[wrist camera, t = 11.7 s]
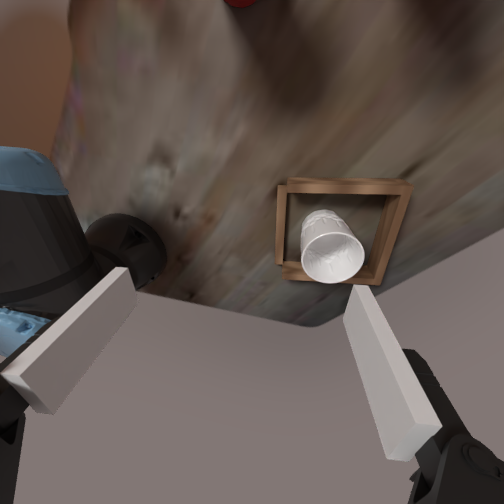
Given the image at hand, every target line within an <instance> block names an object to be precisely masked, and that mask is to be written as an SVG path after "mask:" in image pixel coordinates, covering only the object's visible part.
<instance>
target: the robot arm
mask: <svg viewBox="0 0 504 504" xmlns="http://www.w3.org/2000/svg"><path fill="white" fill-rule="evenodd" d="M68 194H69V191H68V190H67V189H66V188H65V187H64V185H63V183H62V181H61V179H60V177H59V175H58V173H57V171H56V169H55V167H54V165H53V163H52V162H51V161H50V160H49V159H48V158H47V157H46V156H44V155H43V154H41V153H39V152H37V151H34V150H30V149H25V148H14V147H2V146H0V355H2V356H5V357H7V358H6V359H5V360H4V361H3V362H2V363H0V504H13V500H14V494H15V487H16V481H17V474H18V467H19V460H20V454H21V447H22V440H23V433H24V427H25V419H26V417H25V413H24V411H25V409H26V408H27V407H28V406H29V405H30V406H31V407H32V408H33V409H34V410H35V411H36V412H37V413H44V414H52V415H53V414H55V412H56V411H57V410H58V408H59V407H60V405H61V404H62V403H63V402H64V400H65V399H66V398H67V396H68V395H69V394H70V392H71V391H72V390H73V388H74V387H75V386H76V385H77V383H78V382H79V381H80V379H81V378H82V377H83V375H84V374H85V373H86V371H87V370H88V369H89V367H90V366H91V365H92V363H93V362H94V361H95V360H96V358H97V357H98V356H99V354H100V353H101V352H102V350H103V349H104V348H105V346H106V345H107V344H108V342H109V341H110V340H111V338H112V337H113V336H114V334H115V333H116V332H117V330H118V329H119V328H120V327H121V325H122V324H123V323H124V321H125V320H126V319H127V317H128V316H129V315H130V313H131V312H132V311H133V309H134V308H135V307H136V305H137V304H138V303H139V301H138V297H137V294H136V290H138V289H140V288H142V287H144V286H145V285H147V284H149V283H151V282H153V281H154V280H155V279H156V278H157V277H158V276H159V275H160V274H161V272H162V271H163V270H164V268H165V265H166V261H167V255H166V250H165V247H164V245H163V243H162V241H161V239H160V238H159V236H158V235H157V234H156V232H155V231H154V230H153V229H152V228H151V227H149V226H148V225H147V224H146V223H144V222H143V221H141V220H139V219H137V218H135V217H132V216H130V215H126V214H118V213H117V214H109V215H106V216H104V217H102V218H100V219H98V220H96V221H95V222H93V223H92V224H91V225H90V226H89V227H88V229H87V231H86V232H85V234H84V232H83V230H82V227H81V225H80V223H79V220H78V218H77V215H76V213H75V211H74V208H73V206H72V204H71V201H70V199H69V196H68ZM343 322H344V326H345V329H346V332H347V335H348V338H349V341H350V345H351V348H352V350H353V354H354V357H355V360H356V363H357V367H358V370H359V373H360V376H361V379H362V382H363V386H364V389H365V392H366V395H367V398H368V402H369V405H370V408H371V411H372V414H373V418H374V420H375V424H376V426H377V430H378V433H379V436H380V440H381V443H382V446H383V449H384V452H385V455H386V459H391V460H399V461H407V462H409V461H410V460H411V459H412V458H413V457H414V456H416V459H417V461H418V463H419V466H420V468H419V469H418V470H417V471H416V472H415V473H414V474H413V475H412V476H411V477H410V480H411V481H412V482H414V485H413V488H412V491H411V495H410V498H409V501H408V504H504V462H503V461H502V460H500V459H498V458H497V457H496V456H495V455H494V454H493V452H492V451H490V449H488V448H487V447H486V446H485V445H483V444H482V443H481V442H480V441H478V440H476V439H474V438H473V437H472V436H471V435H470V433H469V432H468V430H467V429H466V427H465V425H464V424H463V422H462V420H461V419H460V417H459V416H458V414H457V412H456V410H455V409H454V407H453V406H452V404H451V402H450V400H449V399H448V397H447V395H446V394H445V392H444V391H443V389H442V388H441V387H440V384H439V382H438V381H437V379H436V377H435V376H434V375H433V373H432V371H431V369H430V367H429V366H428V364H427V362H426V361H425V360H424V359H423V358H422V357H421V356H420V355H419V354H418V353H417V352H416V351H415V350H411V349H401V347H400V345H399V343H398V341H397V339H396V338H395V336H394V334H393V332H392V330H391V328H390V326H389V325H388V323H387V321H386V319H385V317H384V315H383V313H382V311H381V309H380V307H379V306H378V304H377V302H376V300H375V298H374V296H373V294H372V292H371V290H370V289H369V287H368V286H366V285H353V288H352V291H351V295H350V298H349V301H348V304H347V307H346V311H345V314H344V317H343Z"/></svg>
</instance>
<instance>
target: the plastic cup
mask: <svg viewBox="0 0 504 504" xmlns="http://www.w3.org/2000/svg"><path fill="white" fill-rule="evenodd" d="M224 1H225V2H227V3H229V4H230V5H231V6H234V7H240V8H244V7H246V6H249V5H251V4H253V3H254V2H255V1H256V0H224Z"/></svg>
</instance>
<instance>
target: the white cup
mask: <svg viewBox="0 0 504 504" xmlns="http://www.w3.org/2000/svg"><path fill="white" fill-rule="evenodd" d="M363 262H364V249H363V247H362V245H361V243H360V242H359V240H358V239H357V238H356V236H355V235H354V234H353V232H352V231H351V229H350V228H349V227H348V226H347V224H346V223H345V222H344V221H343V220H342V219H341V217H340V216H339V215H337V214H336V213H335V212H334V211H330V210H326V209H323V210H318V211H314V212H313V213H311V214H310V215H308V216H307V217H306V219H305V220H304V222H303V223H302V231H301V263H302V267H303V269H304V271H305V272H306V274H307V275H308V276H309V277H311V278H312V279H314V280H316V281H318V282H322V283H338V282H342V281H345V280H347V279H349V278H351V277H352V276H354V275H355V274H356V273H357V272H358V271H359V269H360V268H361V266H362V264H363Z"/></svg>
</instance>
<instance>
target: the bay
mask: <svg viewBox="0 0 504 504" xmlns="http://www.w3.org/2000/svg"><path fill="white" fill-rule="evenodd" d="M413 188H414V185H412V184H410V183H408V182H406V181H404V180H402V179H389V178H287V185H278V195H277V220H276V246H275V264H281V265H282V279H287V280H303V281H316V280H314V279H312V278H311V277H309V276H308V275H307V274H306V272H305V271H304V269H303V267H302V263H301V262H291V261H283V247H284V231H285V214H286V198H287V193H333V194H387V197H386V201H385V204H384V208H383V211H382V215H381V218H380V222H379V225H378V228H377V232H376V235H375V239H374V242H373V246H372V249H371V253H370V256H369V260H368V263H367V265H362V266H361V268H360V269H359V271H358V272H357V273H356V274H355V275H354V276H352V277H351V278H349V279H347V280H345V281H342V282H338V283H351V284H367V285H380V284H381V281H382V278H383V275H384V272H385V269H386V266H387V264H388V261H389V258H390V255H391V252H392V249H393V246H394V243H395V240H396V237H397V234H398V231H399V229H400V226H401V223H402V220H403V217H404V214H405V211H406V208H407V205H408V202H409V199H410V196H411V193H412V191H413Z"/></svg>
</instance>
